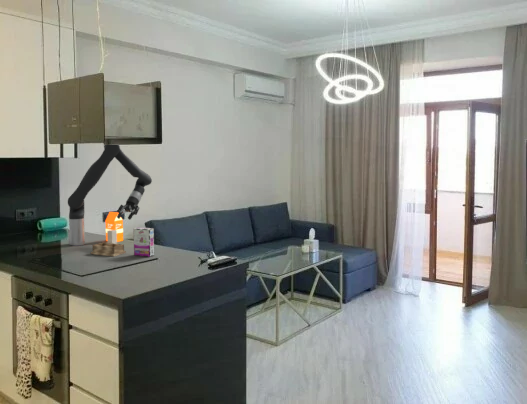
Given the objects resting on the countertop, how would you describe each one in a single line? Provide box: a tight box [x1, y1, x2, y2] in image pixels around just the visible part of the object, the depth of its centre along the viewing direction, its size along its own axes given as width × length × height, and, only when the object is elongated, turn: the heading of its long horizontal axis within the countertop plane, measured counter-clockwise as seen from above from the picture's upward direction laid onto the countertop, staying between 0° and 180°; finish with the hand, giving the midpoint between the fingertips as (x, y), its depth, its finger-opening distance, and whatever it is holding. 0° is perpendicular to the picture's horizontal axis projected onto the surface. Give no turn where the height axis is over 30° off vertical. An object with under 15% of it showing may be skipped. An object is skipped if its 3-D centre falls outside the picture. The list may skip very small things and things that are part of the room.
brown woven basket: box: [90, 242, 127, 257], centre depth 291 cm, size 17×11×5 cm, turn 68°
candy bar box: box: [133, 227, 155, 258], centre depth 286 cm, size 11×5×16 cm, turn 71°
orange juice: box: [105, 211, 124, 243], centre depth 330 cm, size 8×9×20 cm
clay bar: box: [107, 230, 118, 244], centre depth 303 cm, size 4×4×12 cm
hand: (123, 218), depth 312 cm, fingers open, 8 cm apart
